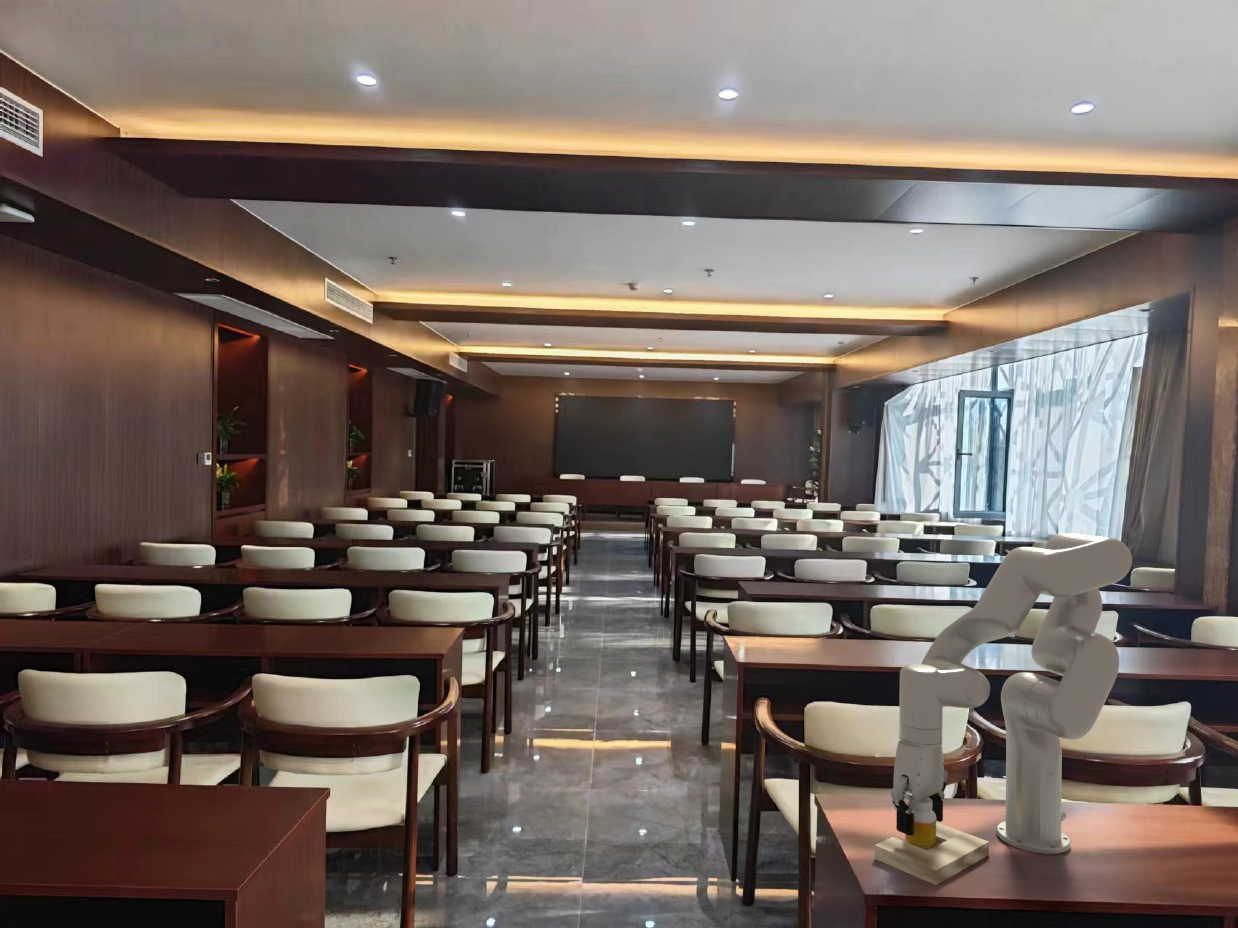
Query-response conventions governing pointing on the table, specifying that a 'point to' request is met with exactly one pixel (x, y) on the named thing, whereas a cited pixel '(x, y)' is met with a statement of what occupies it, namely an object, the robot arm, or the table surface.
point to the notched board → (934, 854)
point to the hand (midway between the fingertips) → (919, 825)
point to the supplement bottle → (923, 825)
